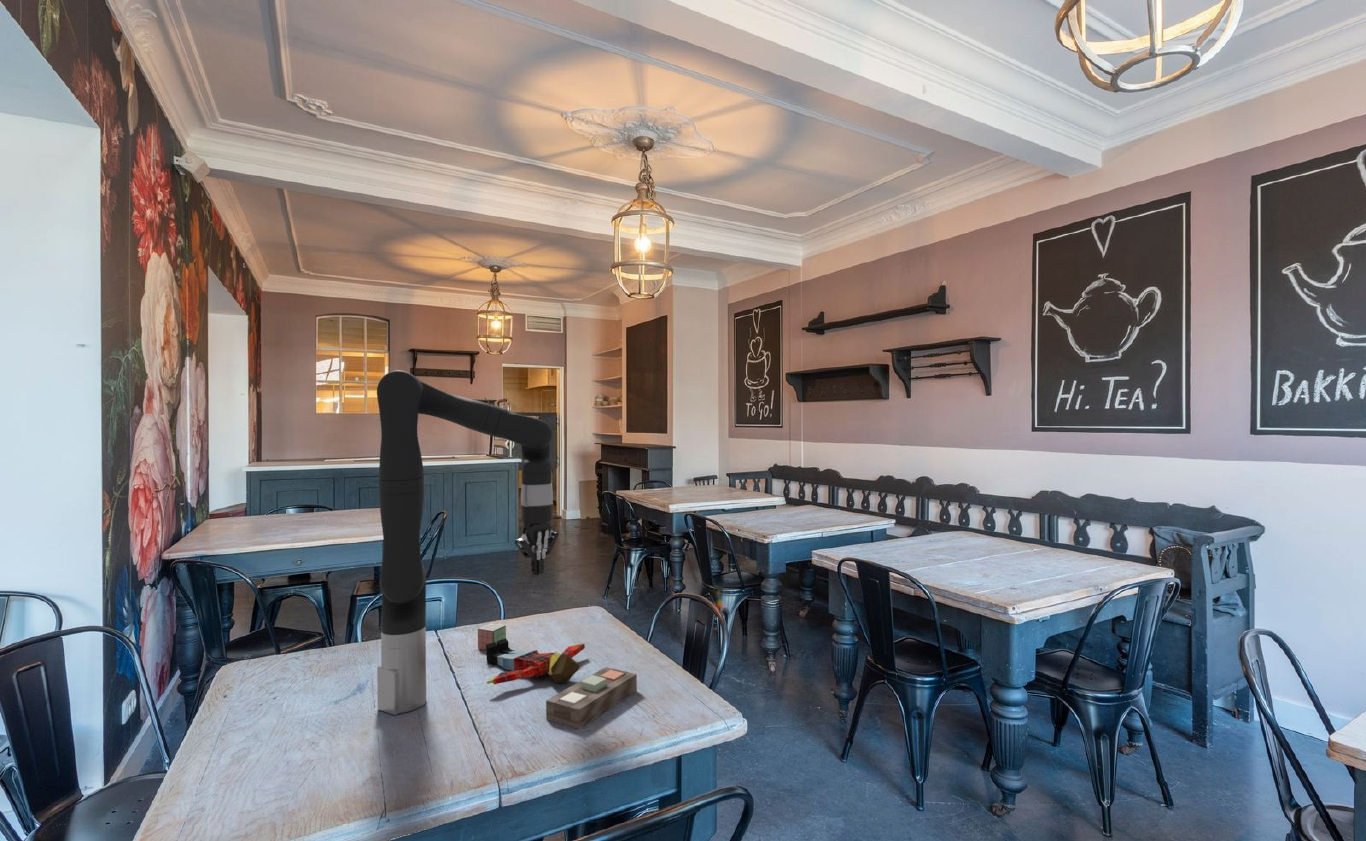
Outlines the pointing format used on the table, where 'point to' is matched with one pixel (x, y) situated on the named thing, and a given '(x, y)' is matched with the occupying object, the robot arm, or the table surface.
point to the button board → (590, 700)
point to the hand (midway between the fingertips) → (537, 574)
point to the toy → (531, 662)
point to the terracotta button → (612, 675)
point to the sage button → (593, 683)
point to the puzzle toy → (490, 634)
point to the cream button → (573, 698)
